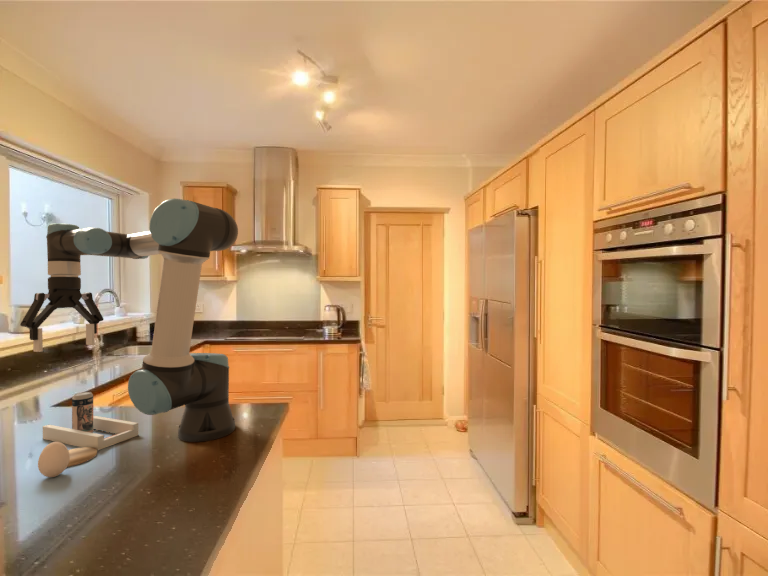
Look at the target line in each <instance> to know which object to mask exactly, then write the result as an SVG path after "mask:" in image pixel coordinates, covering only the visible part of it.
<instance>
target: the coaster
mask: <svg viewBox="0 0 768 576" xmlns="http://www.w3.org/2000/svg"><path fill="white" fill-rule="evenodd" d="M68 451H69V456H70V459H69V463H68V465H67V467H66V468H70V467H74V466H77V465H81V464H84V463H86V462H89V461H90V460H93V459H94V458H95V457H96V456H97V455H98V450H97V449H96V448H92V447H76V448H70V449H68Z"/></svg>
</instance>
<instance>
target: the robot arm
mask: <svg viewBox="0 0 768 576" xmlns="http://www.w3.org/2000/svg"><path fill="white" fill-rule="evenodd" d="M148 228H149V230H146V231H142V232H135V233H134V232H133V233H121V232H113V231H107V230H105V229H103V228H100V227H91V226H90V227H84V228H80V227H79V225H77V224H73V223H72V224H71V223H57V222H55V223H50V224H48V225H47V231H46V248H47V253H46V255H47V256H46V257H47V275H48V276H49V277H48V278H47V290H48V292H47V293H44V292H36V293H34V296H33V297H34V298H33V302H32V303H31V305H30V307H29V308H28V310H27V312H26V313H25V315H24V317H23V319H22V321H21V322H20V325H19V326H21V327H23V328H27V329H28V330H29V339H30V341H32V344H33V345H32V346H33V352H36V353H38V352H39V353H40V352H42V353H43V351H44V350H43V346H44V345H43V328H42V327H41V325H42V324H43V323H44V322H45V321H46V320H47V319H48V318H49V317H50V315H52V313H54V312H55V310H57V309H66V308H68V309H69V308H71V309H74V310H75V311H76V312H78V314H80V316H82V318H83V319H84V320H86V321H87V323H85V345H86V346H93V345H95V335H96V334H97V332H98V331H97V330H98V324H99V323H101V322H103V321H104V316H103V315H102V314H101V311H100V310H99V308H98V306H97V304H96V302H95V301H94V299H93V297H94V296H93V292H91V291H90V292H89V291H88V292H81V289H82V280H81V279H82V278H80V277H79V276H81V275H82V273H81V272H82V270H81V269H82V268H81V266H82V265H81V256H95V257H97V256H99V257H110V258H123V259H125V258H126V259H133V260H144V259H147V258H149V257H151V256H156V255H161V256H162V258H163V264H162V273H161V279H160V286H159V291H158V293H159V294H158V300H157V308H156V315H155V321H154V329H153V330H154V331H153V336H152V337H153V338H152V343H151V351H150V352H149V353H147V354H146V355H145V356H143V358H142V365H141V369H138V370H136V371H134V372H133V373H132V374H131V375H130V376H129V378H128V383H127V392H128V396H129V398H130V401H131V402H132V404H133V406H134V407H135V409H136V410H137V411H139V412H141V413H142V414H144V415H148V416H155V415H158V414H162V413H163V414H164V413H168V412H170V411H171V410H173V409H177V408H180V407H183V406H184V410H183V413H182V417H181V421H180V424H179V425H178V427H177V428H178V429H177V438H178V440H180V441H183V442H188V443H190V442H191V443H197V442H199V443H200V442H208V441H212V440H213V441H214V440H217V439H221V438H223V437H225V436H228V435H230V434H231V433H234V431H235V430H236V420H235V417H234V416H233V413H232V409H231V406H230V402H229V399H230V398H229V395H230V393H229V390H230V389H229V386H230V385H229V383H230V382H229V381H230V365H229V358H228V356H227V355H226V354H224V353H216V352H214V353H213V352H212V353H211V352H193V353H192V352H190V350H191V341H192V335H193V327H194V322H195V315H196V308H197V300H198V296H199V295H198V294H199V288H200V287H199V286H200V279H201V274H202V273H201V272H202V267H203V264H204V263H205V262H207V261H208V260H209V259H210V255H211V252H220V251H222V252H223V251H225V250H227V249H229V248H231V247H232V246H233V245H234V244H235V242H237V239H238V235H239V228H238V225H237V222H236V219H235V218H234V217H233V216H232V215H231V214H230V213H228V212H227V211H225V210H223V209H222V208H217V207H213V206H210V205H206V204H202V203H199V202H196V201H192V200H189V199H181V198H168V199H166V200H164V201H162V202H161V203H160V204H159V205H157V207H155V209H154V210H153V212H152V214H151V217H150V220H149V227H148ZM46 300H48V301H49V302H48V303H47V304H46V305H45V307H44V308H43V310H42V311H41V312H40V310H41V308H42V307H43V304H44V303H45V302H46ZM80 300H83V302H84V304H85V306H86V307H87V308H86V307H85V306H84V304H83V303H82V302H81V301H80ZM39 312H40V313H39Z"/></svg>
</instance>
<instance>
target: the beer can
mask: <svg viewBox="0 0 768 576" xmlns="http://www.w3.org/2000/svg"><path fill="white" fill-rule="evenodd" d="M93 416H94V394H93V393H92V392H91V391H83V392H78V393H75V394H73V396H72V398H71V429H75V430H80V431H85V432H91V433H94V430H93Z"/></svg>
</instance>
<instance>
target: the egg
mask: <svg viewBox="0 0 768 576" xmlns="http://www.w3.org/2000/svg"><path fill="white" fill-rule="evenodd" d="M68 450H69V449H68V448H67V446H66V444H65V443H61V442H55V441H52V442H50V443H48V444H47V445H45V446H44V448H43V449H42V451H41V452H40V454H39V457H38V460H37V467H38V471H39V473H40V474H41V475H42V476H43V477H47V478H55V477H57V476H59V475H60V474H61V475H62V473H63V472H64V471H65V470H66V469H67V468H68V467H67V465H68V463H69V459H70V456H69V451H68Z"/></svg>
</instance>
